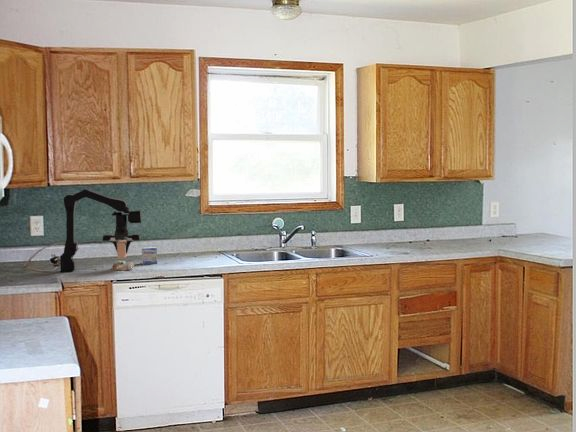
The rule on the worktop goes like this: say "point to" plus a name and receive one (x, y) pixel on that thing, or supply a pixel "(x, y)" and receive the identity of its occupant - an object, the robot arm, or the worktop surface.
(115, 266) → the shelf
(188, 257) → the worktop surface
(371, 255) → the worktop surface
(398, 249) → the worktop surface
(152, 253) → the medicine box
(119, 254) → the box
